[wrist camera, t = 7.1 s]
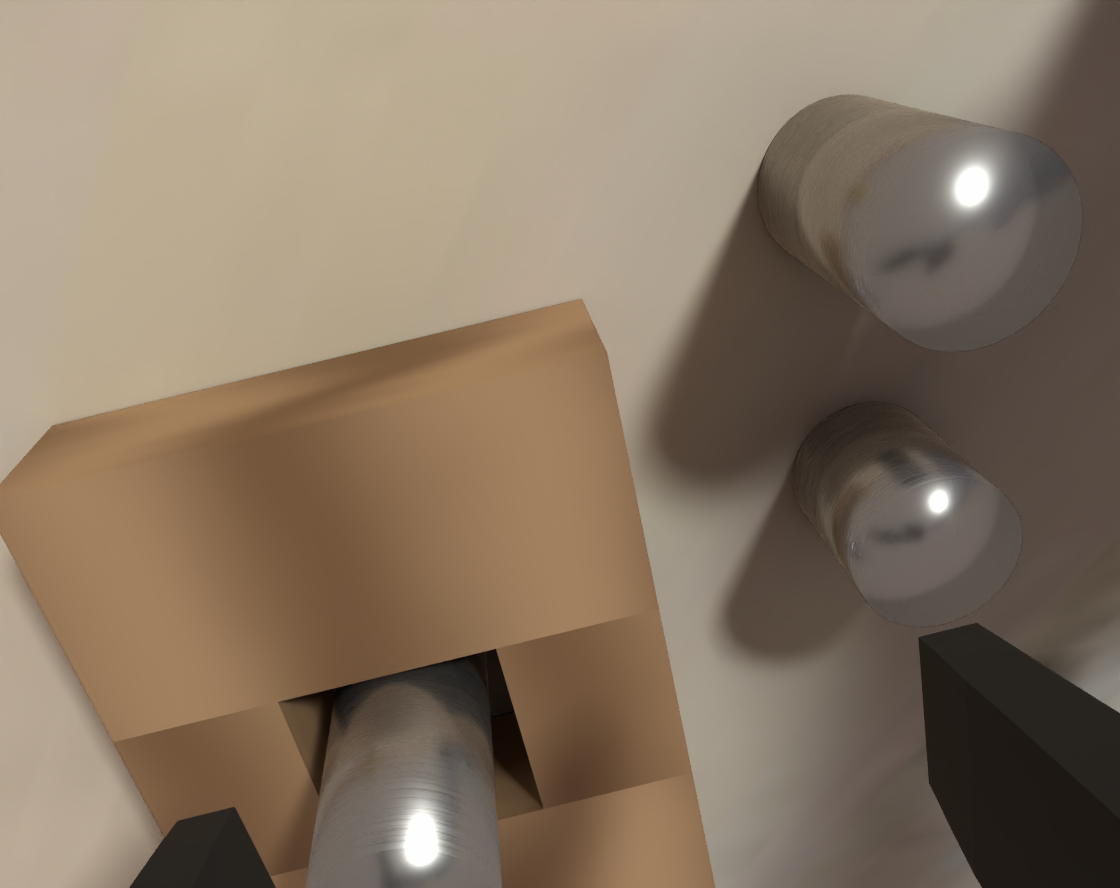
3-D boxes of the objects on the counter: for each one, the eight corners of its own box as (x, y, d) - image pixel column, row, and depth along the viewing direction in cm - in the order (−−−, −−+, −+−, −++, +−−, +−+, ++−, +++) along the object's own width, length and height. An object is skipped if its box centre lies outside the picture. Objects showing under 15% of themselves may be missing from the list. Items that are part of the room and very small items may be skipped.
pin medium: (914, 77, 17) (1085, 107, 13) (921, 242, 18) (1080, 324, 14) (747, 116, 17) (859, 161, 13) (768, 280, 18) (875, 374, 14)
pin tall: (473, 573, 20) (487, 834, 14) (494, 688, 22) (517, 974, 15) (329, 598, 20) (277, 872, 14) (359, 711, 21) (325, 1010, 15)
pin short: (928, 386, 20) (1022, 461, 16) (934, 512, 21) (1022, 605, 18) (784, 421, 20) (850, 503, 16) (799, 545, 21) (863, 643, 18)
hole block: (581, 298, 18) (607, 352, 15) (693, 833, 24) (725, 939, 21) (52, 426, 18) (-17, 502, 15) (298, 931, 24) (280, 1050, 21)
